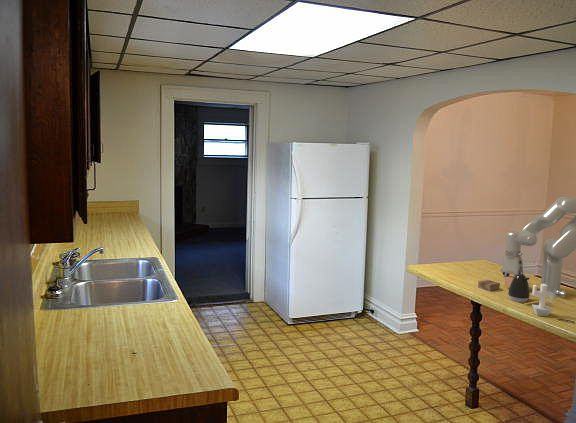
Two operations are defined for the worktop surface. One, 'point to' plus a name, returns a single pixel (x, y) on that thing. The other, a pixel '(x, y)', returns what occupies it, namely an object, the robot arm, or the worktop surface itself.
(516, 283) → the black penguin toy
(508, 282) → the top cube
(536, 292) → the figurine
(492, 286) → the base block
